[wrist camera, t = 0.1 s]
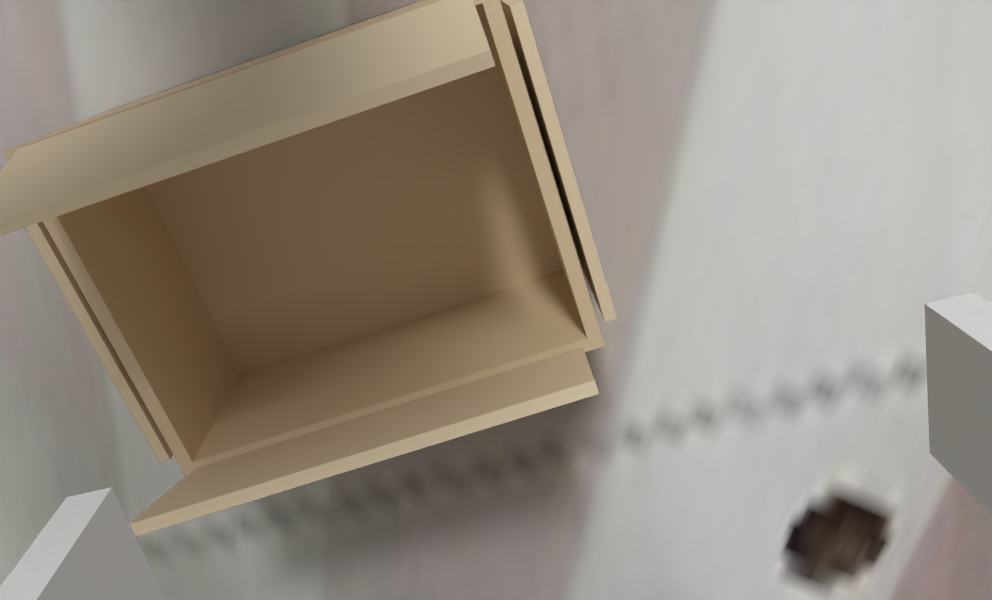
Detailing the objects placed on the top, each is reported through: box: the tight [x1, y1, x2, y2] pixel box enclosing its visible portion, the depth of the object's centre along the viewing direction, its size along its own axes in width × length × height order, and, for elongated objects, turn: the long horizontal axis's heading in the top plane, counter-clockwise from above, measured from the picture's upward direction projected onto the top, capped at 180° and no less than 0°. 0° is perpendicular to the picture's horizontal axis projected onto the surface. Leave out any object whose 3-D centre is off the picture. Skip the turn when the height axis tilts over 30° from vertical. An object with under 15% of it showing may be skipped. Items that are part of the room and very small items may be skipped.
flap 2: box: [130, 347, 599, 537], centre depth 31 cm, size 1×17×6 cm, turn 107°
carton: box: [4, 0, 617, 476], centre depth 36 cm, size 15×21×9 cm
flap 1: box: [0, 0, 495, 236], centre depth 27 cm, size 1×17×6 cm, turn 107°
